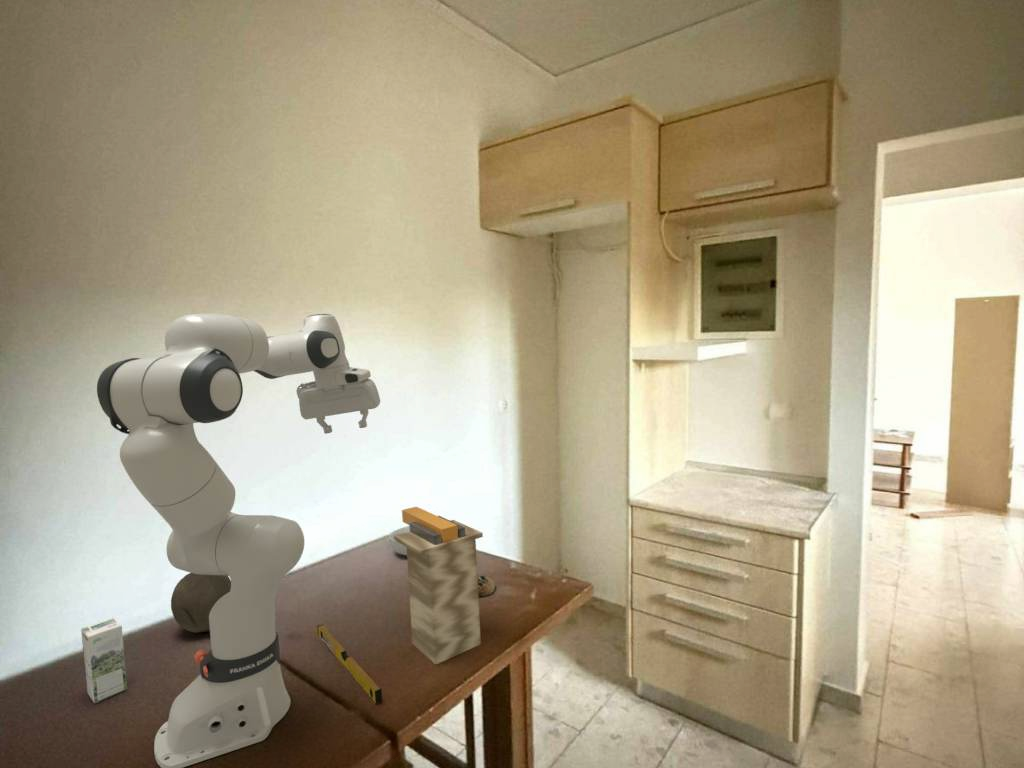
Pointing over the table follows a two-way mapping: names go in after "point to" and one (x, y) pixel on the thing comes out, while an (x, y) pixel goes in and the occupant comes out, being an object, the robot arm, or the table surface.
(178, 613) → the dark grey ball
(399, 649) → the table surface
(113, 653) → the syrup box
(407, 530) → the cereal bowl
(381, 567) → the table surface
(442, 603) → the stand
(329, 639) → the spirit level
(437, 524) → the long orange beam
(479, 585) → the bread roll
